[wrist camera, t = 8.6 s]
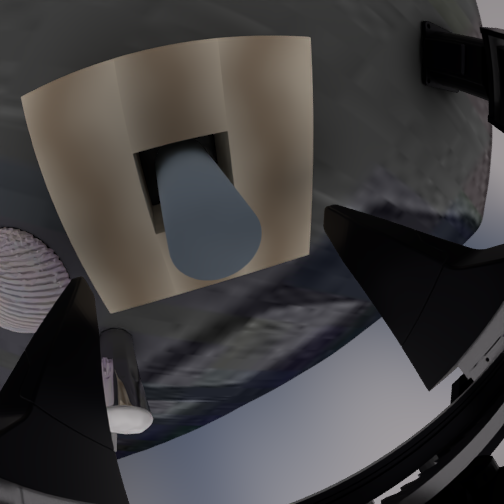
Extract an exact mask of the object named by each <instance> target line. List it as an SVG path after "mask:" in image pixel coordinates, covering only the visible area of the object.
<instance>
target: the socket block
mask: <svg viewBox="0 0 504 504" xmlns="http://www.w3.org/2000/svg"><path fill="white" fill-rule="evenodd" d="M21 100H22V105H23V109H24V114H25V118H26V122H27V126H28V130H29V133H30V137H31V141H32V144H33V147H34V151H35V154H36V157H37V160H38V163H39V166H40V169H41V172H42V175H43V178H44V180H45V183H46V186H47V188H48V191H49V194H50V196H51V199H52V201H53V204H54V206H55V208H56V211H57V213H58V215H59V218H60V220H61V222H62V224H63V227H64V229H65V231H66V233H67V235H68V237H69V239H70V242H71V244H72V246H73V248H74V250H75V252H76V254H77V256H78V258H79V259H80V261H81V263H82V265H83V267H84V269H85V271H86V273H87V274H88V276H89V278H90V280H91V282H92V283H93V285H94V287H95V289H96V290H97V292H98V294H99V295H100V297H101V299H102V300H103V302H104V304H105V305H106V307H107V308H108V310H109V312H110V313H115V312H119V311H122V310H126V309H129V308H133V307H136V306H140V305H144V304H147V303H151V302H154V301H157V300H161V299H164V298H168V297H171V296H175V295H178V294H182V293H185V292H188V291H192V290H195V289H199V288H202V287H205V286H209V285H212V284H215V283H219V282H222V281H225V280H229V279H232V278H235V277H238V276H242V275H245V274H248V273H251V272H255V271H258V270H261V269H264V268H268V267H271V266H274V265H277V264H280V263H284V262H287V261H290V260H293V259H296V258H299V257H303V256H306V255H309V246H310V229H311V209H312V181H313V83H312V57H311V39H310V37H301V36H240V37H225V38H214V39H205V40H197V41H190V42H184V43H178V44H172V45H167V46H162V47H157V48H152V49H148V50H144V51H139V52H135V53H132V54H128V55H124V56H121V57H117V58H114V59H111V60H107V61H104V62H101V63H98V64H95V65H92V66H90V67H87V68H84V69H81V70H79V71H76V72H74V73H71V74H69V75H66V76H64V77H61V78H59V79H57V80H55V81H52V82H50V83H48V84H46V85H44V86H42V87H40V88H38V89H36V90H34V91H32V92H30V93H28V94H26V95H24V96H22V97H21ZM210 134H214V140H215V147H216V155H217V162H218V166H219V168H220V169H221V170H222V172H223V173H224V174H225V175H226V177H227V178H228V179H229V180H230V182H231V183H232V184H233V186H234V187H235V188H236V190H237V191H238V192H239V193H240V195H241V196H242V197H243V199H244V200H245V201H246V202H247V204H248V205H249V206H250V208H251V209H252V210H253V212H254V213H255V214H256V216H257V217H258V219H259V221H260V225H261V230H262V237H261V242H260V246H259V248H258V250H257V252H256V254H255V256H254V257H253V258H252V260H251V261H250V262H249V263H248V264H247V265H246V266H245V267H244V268H242V269H241V270H239V271H238V272H236V273H234V274H232V275H230V276H228V277H225V278H222V279H218V280H198V279H194V278H191V277H189V276H186V275H185V274H183V273H182V272H180V271H179V270H178V269H177V268H176V266H175V265H174V264H173V262H172V260H171V257H170V254H169V249H168V244H167V238H166V233H165V227H164V222H163V216H162V210H161V204H157V205H154V206H152V202H151V199H150V195H149V191H148V188H147V184H146V180H145V177H144V173H143V169H142V165H141V161H140V157H139V153H138V152H140V151H144V150H147V149H151V148H155V147H158V146H162V145H166V144H170V143H174V142H178V141H182V140H187V139H191V138H196V137H200V136H205V135H210Z"/></svg>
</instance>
